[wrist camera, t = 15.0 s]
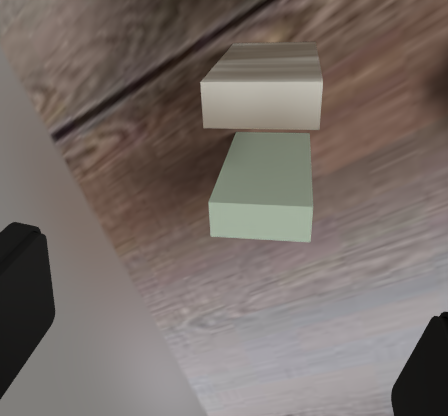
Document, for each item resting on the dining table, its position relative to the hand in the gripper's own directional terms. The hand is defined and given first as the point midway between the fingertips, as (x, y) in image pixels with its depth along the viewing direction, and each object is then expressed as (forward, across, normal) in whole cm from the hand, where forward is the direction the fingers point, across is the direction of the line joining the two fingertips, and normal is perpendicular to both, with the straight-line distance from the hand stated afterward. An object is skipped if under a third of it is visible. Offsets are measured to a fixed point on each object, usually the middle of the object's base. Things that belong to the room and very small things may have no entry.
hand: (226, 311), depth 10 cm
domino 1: (+20, 0, -2) cm, 20 cm away
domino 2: (+20, -1, +4) cm, 20 cm away
